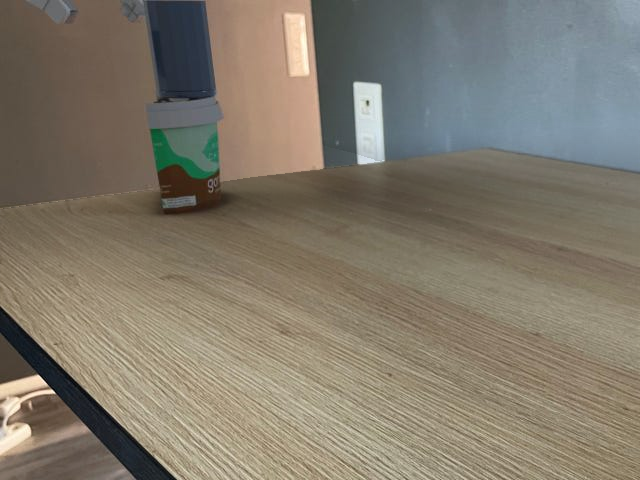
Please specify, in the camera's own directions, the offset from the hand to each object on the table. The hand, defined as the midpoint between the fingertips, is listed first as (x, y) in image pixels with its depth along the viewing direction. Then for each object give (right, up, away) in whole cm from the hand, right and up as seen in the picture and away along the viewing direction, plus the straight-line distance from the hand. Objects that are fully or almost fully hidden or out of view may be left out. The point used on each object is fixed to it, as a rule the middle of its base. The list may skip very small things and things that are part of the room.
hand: (107, 18), depth 72 cm
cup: (+7, -7, +1) cm, 10 cm away
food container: (+7, -16, +5) cm, 18 cm away
